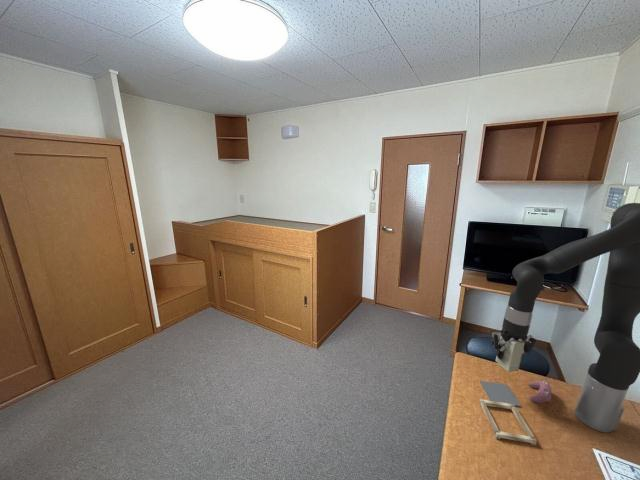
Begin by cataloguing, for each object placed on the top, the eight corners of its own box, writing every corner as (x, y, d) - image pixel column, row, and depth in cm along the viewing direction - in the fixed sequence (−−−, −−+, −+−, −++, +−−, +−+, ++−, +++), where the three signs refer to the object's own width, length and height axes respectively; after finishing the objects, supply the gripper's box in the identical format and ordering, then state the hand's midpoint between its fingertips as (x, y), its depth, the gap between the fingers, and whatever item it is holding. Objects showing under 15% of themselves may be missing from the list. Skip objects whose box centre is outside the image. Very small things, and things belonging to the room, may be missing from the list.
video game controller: (540, 409, 96) (556, 400, 92) (527, 399, 97) (542, 390, 94) (539, 392, 103) (553, 383, 100) (527, 383, 105) (540, 374, 102)
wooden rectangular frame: (512, 408, 94) (513, 404, 93) (535, 445, 81) (537, 440, 81) (478, 403, 96) (479, 399, 95) (495, 438, 83) (497, 434, 83)
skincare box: (518, 371, 94) (526, 342, 91) (507, 372, 94) (515, 343, 90) (504, 359, 100) (511, 332, 97) (494, 360, 100) (500, 332, 96)
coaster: (506, 385, 104) (507, 384, 104) (520, 407, 95) (521, 405, 94) (480, 381, 106) (480, 380, 106) (491, 402, 96) (491, 401, 96)
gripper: (533, 315, 94) (523, 355, 99) (490, 311, 97) (482, 350, 101) (547, 327, 87) (535, 369, 91) (500, 322, 89) (491, 363, 94)
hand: (507, 358), depth 96 cm, fingers closed on skincare box, 5 cm apart
